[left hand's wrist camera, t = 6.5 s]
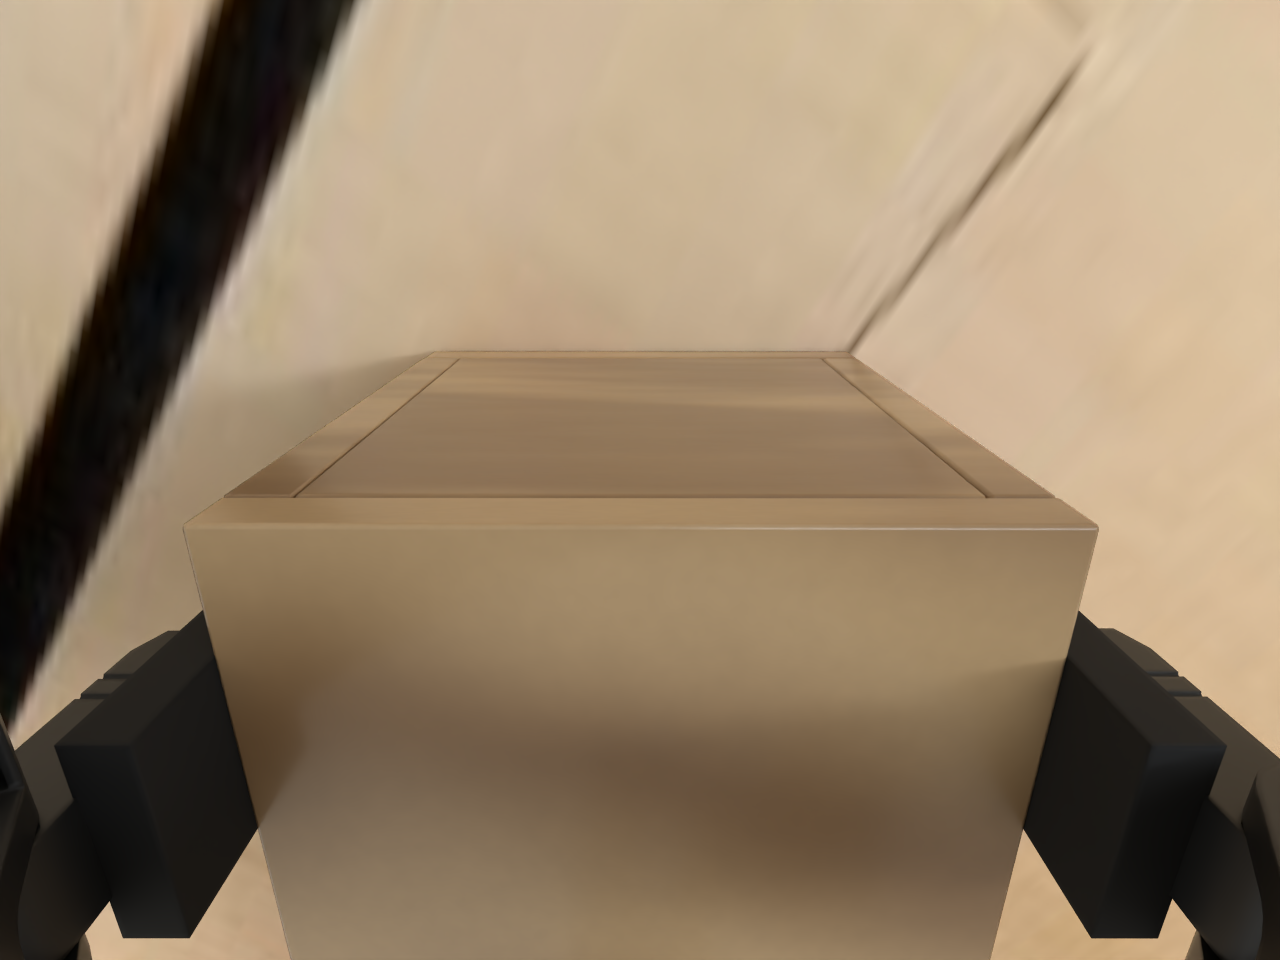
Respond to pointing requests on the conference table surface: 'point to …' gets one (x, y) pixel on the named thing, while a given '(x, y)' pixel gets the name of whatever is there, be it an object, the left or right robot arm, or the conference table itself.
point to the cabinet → (640, 662)
